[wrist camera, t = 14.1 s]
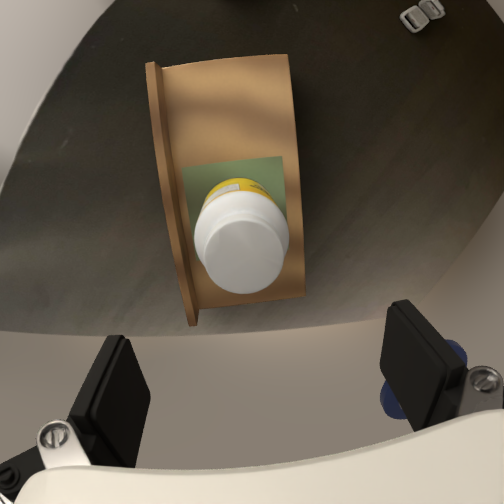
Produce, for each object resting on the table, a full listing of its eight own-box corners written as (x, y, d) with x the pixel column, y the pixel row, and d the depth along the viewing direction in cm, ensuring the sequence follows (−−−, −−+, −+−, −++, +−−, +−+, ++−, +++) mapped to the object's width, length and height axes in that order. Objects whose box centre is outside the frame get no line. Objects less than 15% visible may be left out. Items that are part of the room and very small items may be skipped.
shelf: (295, 272, 39) (312, 311, 30) (196, 284, 38) (189, 326, 30) (277, 66, 30) (294, 45, 21) (165, 79, 29) (145, 63, 21)
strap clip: (412, 35, 28) (430, 28, 25) (396, 17, 28) (413, 8, 24) (444, 10, 27) (462, 3, 23) (430, -7, 26) (447, -16, 22)
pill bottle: (277, 238, 30) (303, 299, 20) (209, 248, 30) (200, 314, 20) (269, 170, 28) (295, 196, 17) (197, 181, 28) (178, 213, 17)
